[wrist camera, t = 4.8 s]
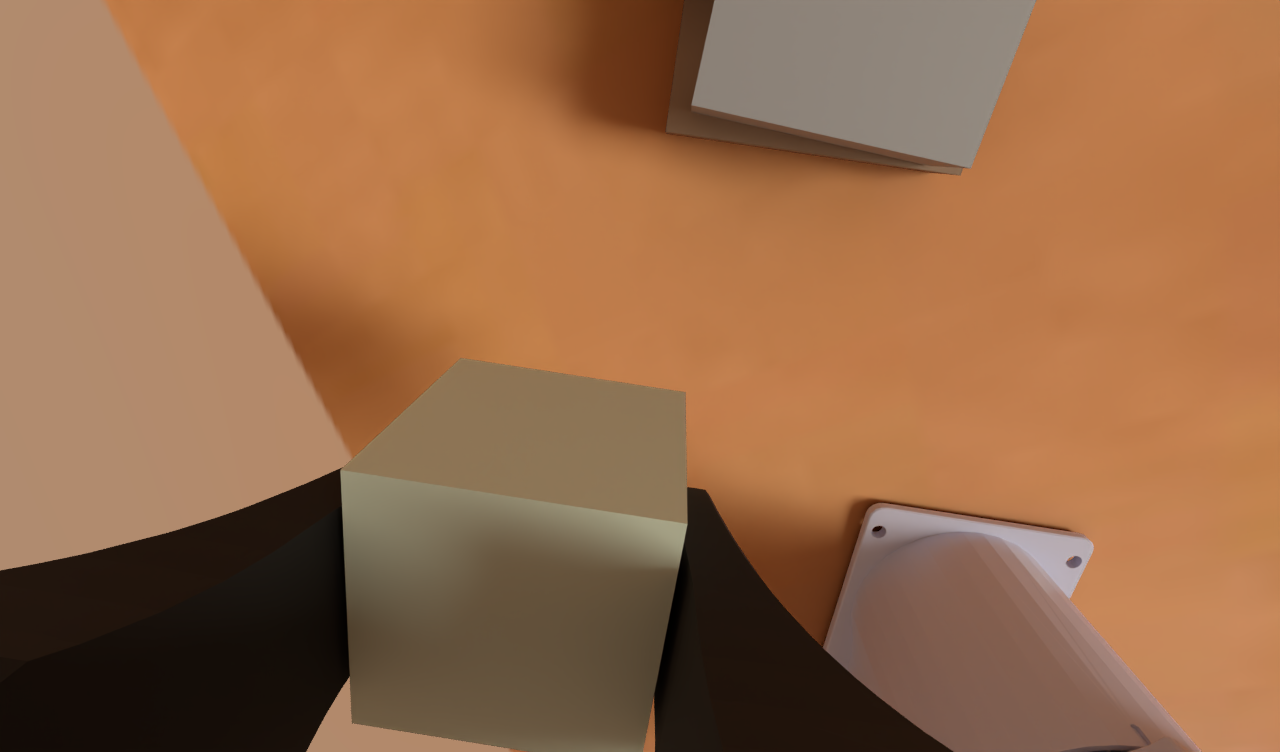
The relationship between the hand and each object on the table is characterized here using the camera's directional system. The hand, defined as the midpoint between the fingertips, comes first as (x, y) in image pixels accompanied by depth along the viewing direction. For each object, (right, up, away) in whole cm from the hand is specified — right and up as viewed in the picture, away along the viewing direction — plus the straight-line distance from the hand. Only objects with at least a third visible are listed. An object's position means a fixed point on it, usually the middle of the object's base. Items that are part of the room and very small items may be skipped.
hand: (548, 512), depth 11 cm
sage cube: (0, +1, +1) cm, 1 cm away
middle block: (+7, +12, +4) cm, 14 cm away
